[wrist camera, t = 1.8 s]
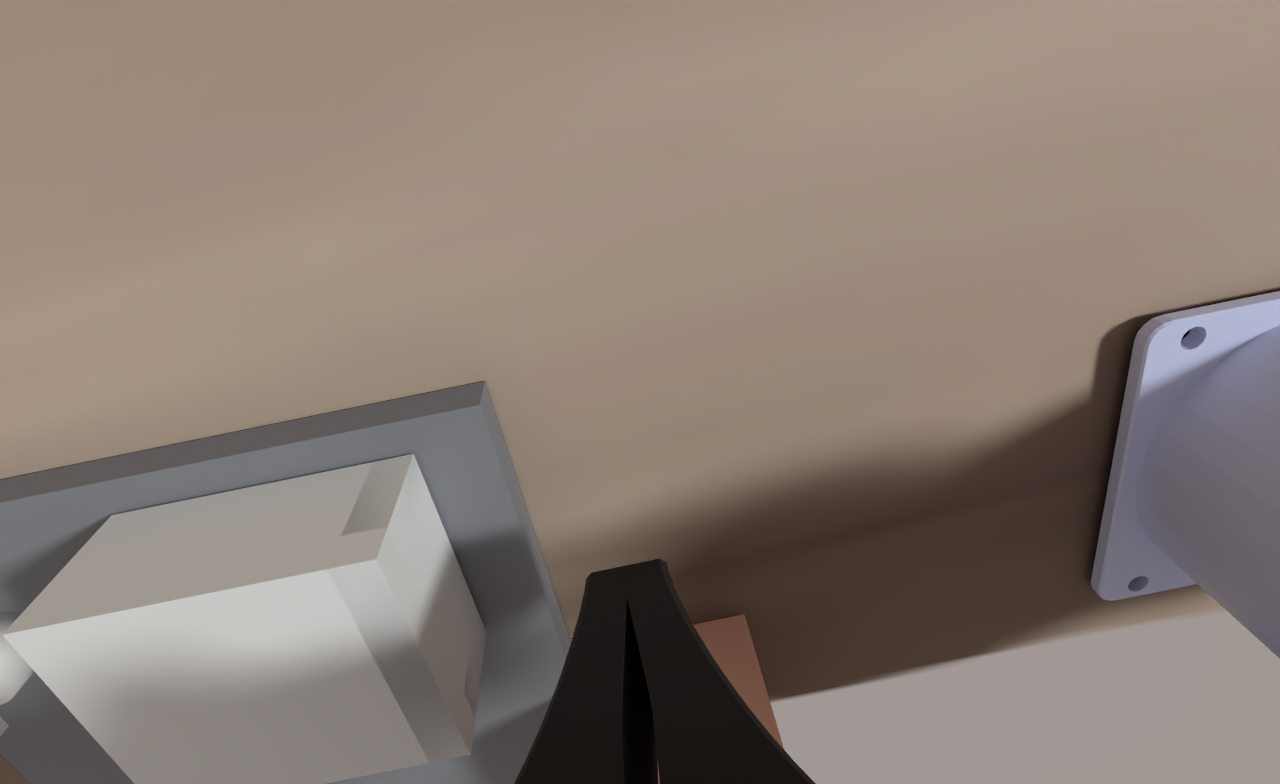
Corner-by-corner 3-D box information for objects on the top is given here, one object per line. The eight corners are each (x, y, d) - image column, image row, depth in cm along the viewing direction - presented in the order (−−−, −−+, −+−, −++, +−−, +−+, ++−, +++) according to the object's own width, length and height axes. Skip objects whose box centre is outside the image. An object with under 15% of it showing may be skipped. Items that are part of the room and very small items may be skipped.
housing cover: (413, 453, 14) (375, 559, 11) (486, 633, 16) (470, 754, 13) (111, 515, 14) (1, 635, 11) (230, 684, 16) (163, 816, 13)
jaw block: (744, 613, 18) (800, 804, 14) (759, 712, 20) (812, 908, 16) (592, 643, 18) (599, 844, 14) (621, 739, 20) (636, 943, 16)
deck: (485, 381, 14) (457, 500, 11) (618, 787, 21) (628, 942, 17) (-164, 513, 14) (-402, 675, 11) (177, 875, 21) (98, 1048, 17)
